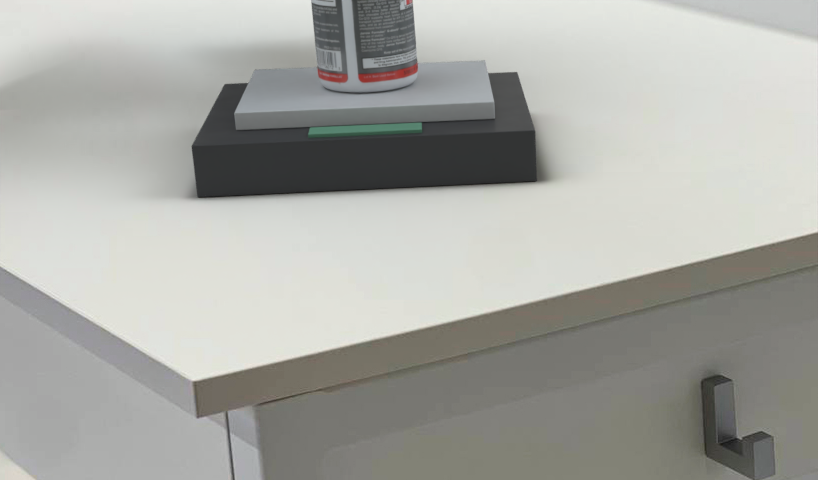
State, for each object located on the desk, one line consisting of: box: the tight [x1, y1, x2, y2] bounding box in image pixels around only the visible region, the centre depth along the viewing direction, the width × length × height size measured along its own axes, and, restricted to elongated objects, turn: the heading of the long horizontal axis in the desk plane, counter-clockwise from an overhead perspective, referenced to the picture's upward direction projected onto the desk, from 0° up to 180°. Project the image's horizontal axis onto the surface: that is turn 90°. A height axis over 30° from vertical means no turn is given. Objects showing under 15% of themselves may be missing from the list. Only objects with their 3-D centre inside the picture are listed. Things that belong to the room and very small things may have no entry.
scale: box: [191, 59, 538, 198], centre depth 93 cm, size 18×16×4 cm
